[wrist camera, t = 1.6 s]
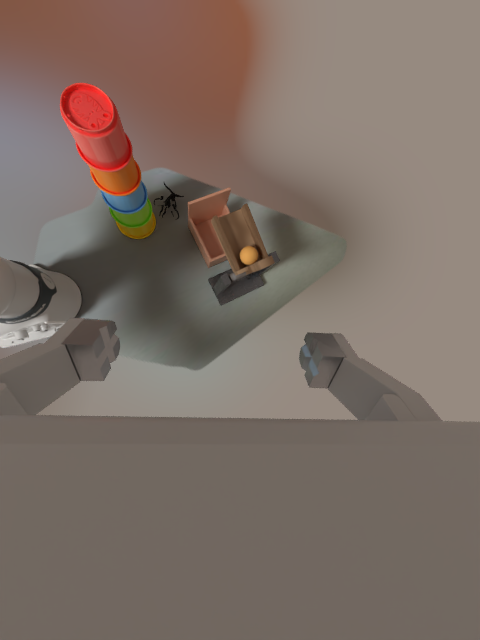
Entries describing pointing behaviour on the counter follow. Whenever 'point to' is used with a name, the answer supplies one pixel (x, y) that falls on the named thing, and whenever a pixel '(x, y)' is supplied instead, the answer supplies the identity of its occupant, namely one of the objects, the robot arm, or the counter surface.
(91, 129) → the stacking cups
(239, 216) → the lever
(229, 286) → the lever stand
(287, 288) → the counter surface
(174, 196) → the creature
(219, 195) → the cup
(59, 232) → the counter surface
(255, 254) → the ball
